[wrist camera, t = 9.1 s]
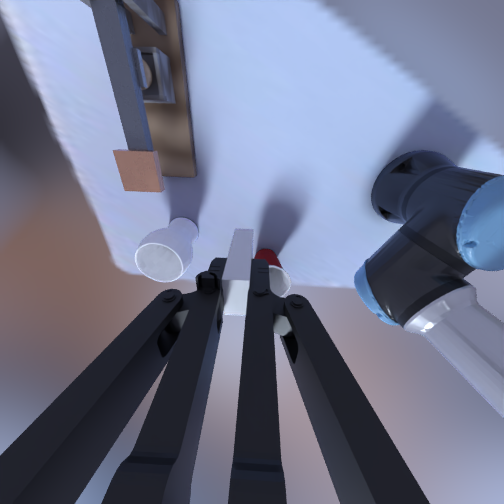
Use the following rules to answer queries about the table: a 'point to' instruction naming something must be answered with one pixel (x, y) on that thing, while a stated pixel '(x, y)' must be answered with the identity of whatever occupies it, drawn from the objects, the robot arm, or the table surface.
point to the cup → (167, 250)
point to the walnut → (147, 74)
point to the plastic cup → (275, 273)
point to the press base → (167, 114)
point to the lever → (128, 98)
